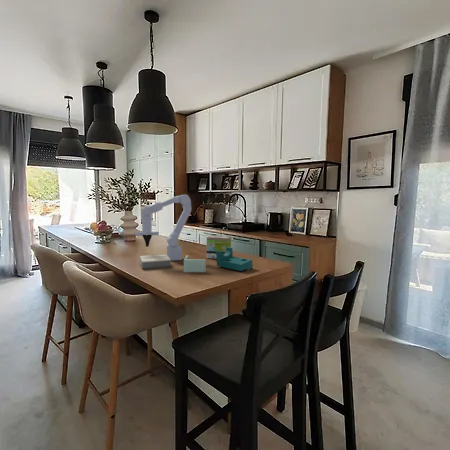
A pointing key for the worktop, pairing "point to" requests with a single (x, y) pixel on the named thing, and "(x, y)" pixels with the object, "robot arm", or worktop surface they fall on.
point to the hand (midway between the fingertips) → (147, 246)
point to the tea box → (217, 245)
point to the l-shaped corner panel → (194, 265)
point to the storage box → (154, 264)
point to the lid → (154, 258)
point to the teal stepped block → (232, 261)
